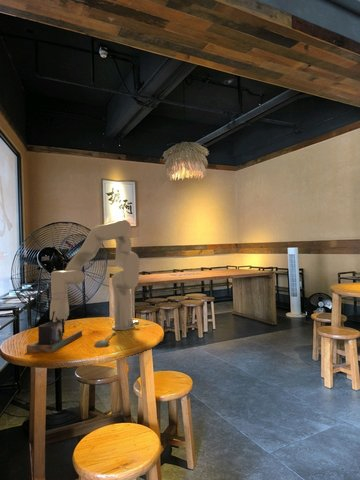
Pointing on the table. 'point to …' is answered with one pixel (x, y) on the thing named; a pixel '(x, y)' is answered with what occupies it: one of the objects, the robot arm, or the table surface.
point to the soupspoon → (103, 342)
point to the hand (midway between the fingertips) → (60, 333)
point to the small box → (50, 333)
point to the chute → (51, 348)
